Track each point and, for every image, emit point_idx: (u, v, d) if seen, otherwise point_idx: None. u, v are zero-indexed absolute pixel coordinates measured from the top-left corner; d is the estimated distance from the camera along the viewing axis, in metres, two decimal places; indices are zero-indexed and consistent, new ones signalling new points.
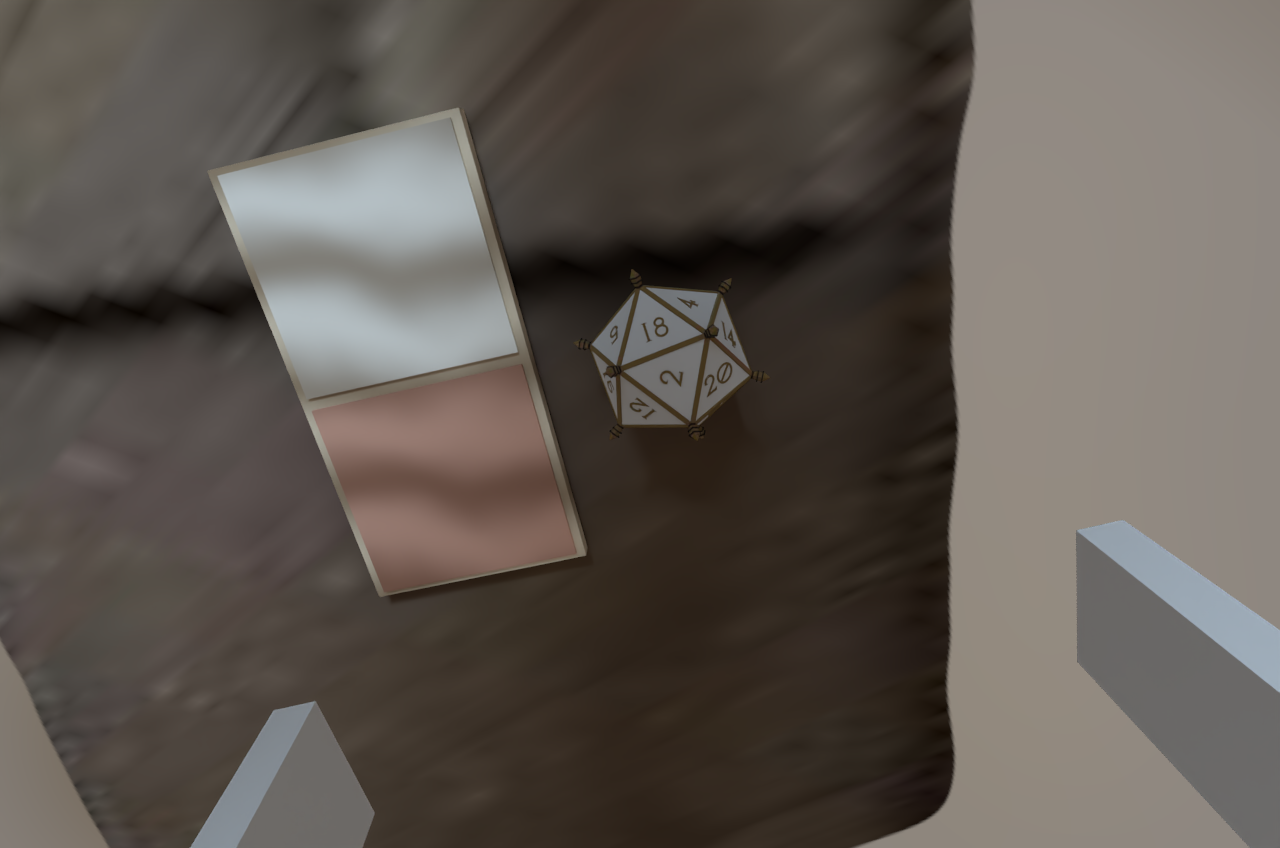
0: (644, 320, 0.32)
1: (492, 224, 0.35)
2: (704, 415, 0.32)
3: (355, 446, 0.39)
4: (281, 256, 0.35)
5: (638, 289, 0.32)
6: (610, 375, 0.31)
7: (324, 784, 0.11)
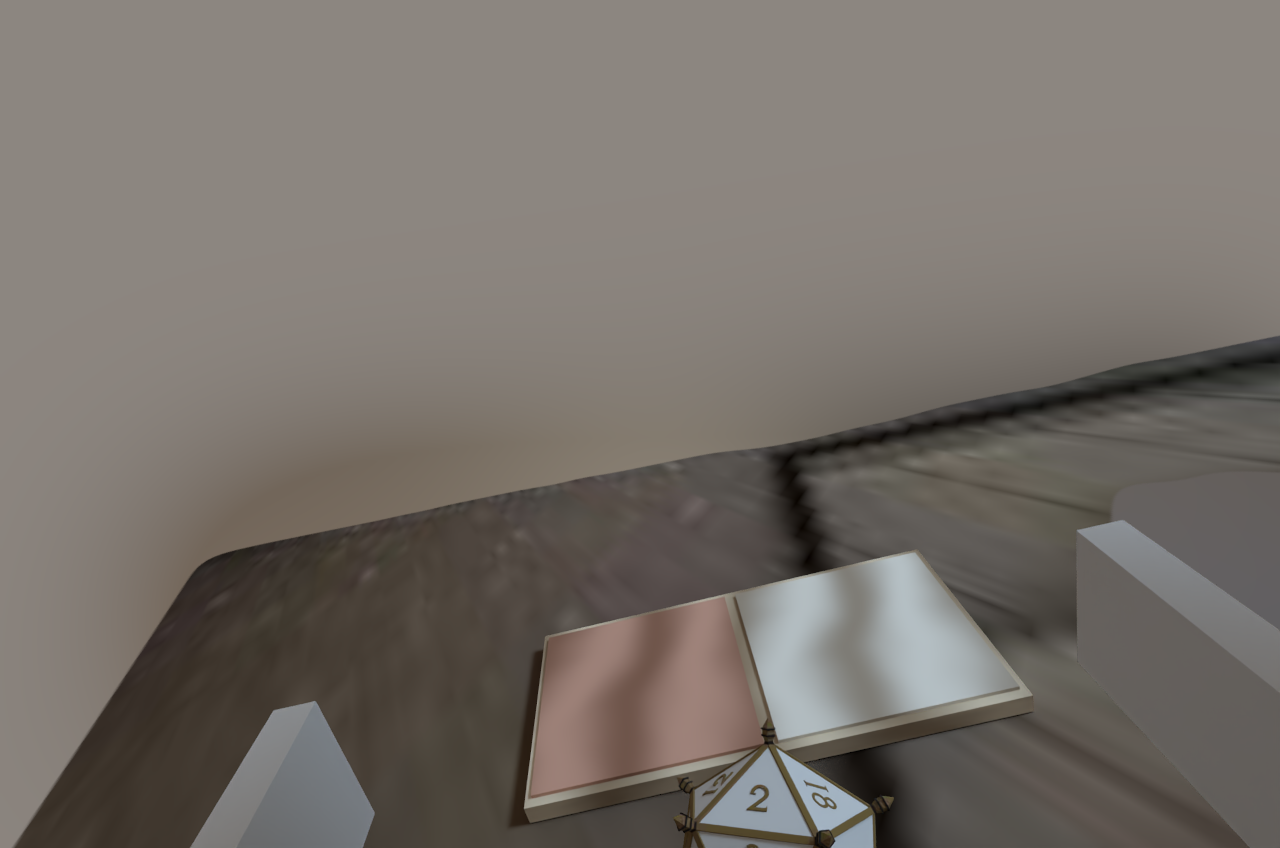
0: (830, 792, 0.25)
1: (917, 723, 0.33)
2: None
3: (690, 620, 0.43)
4: (856, 582, 0.43)
5: (868, 805, 0.25)
6: (764, 725, 0.26)
7: (324, 784, 0.11)
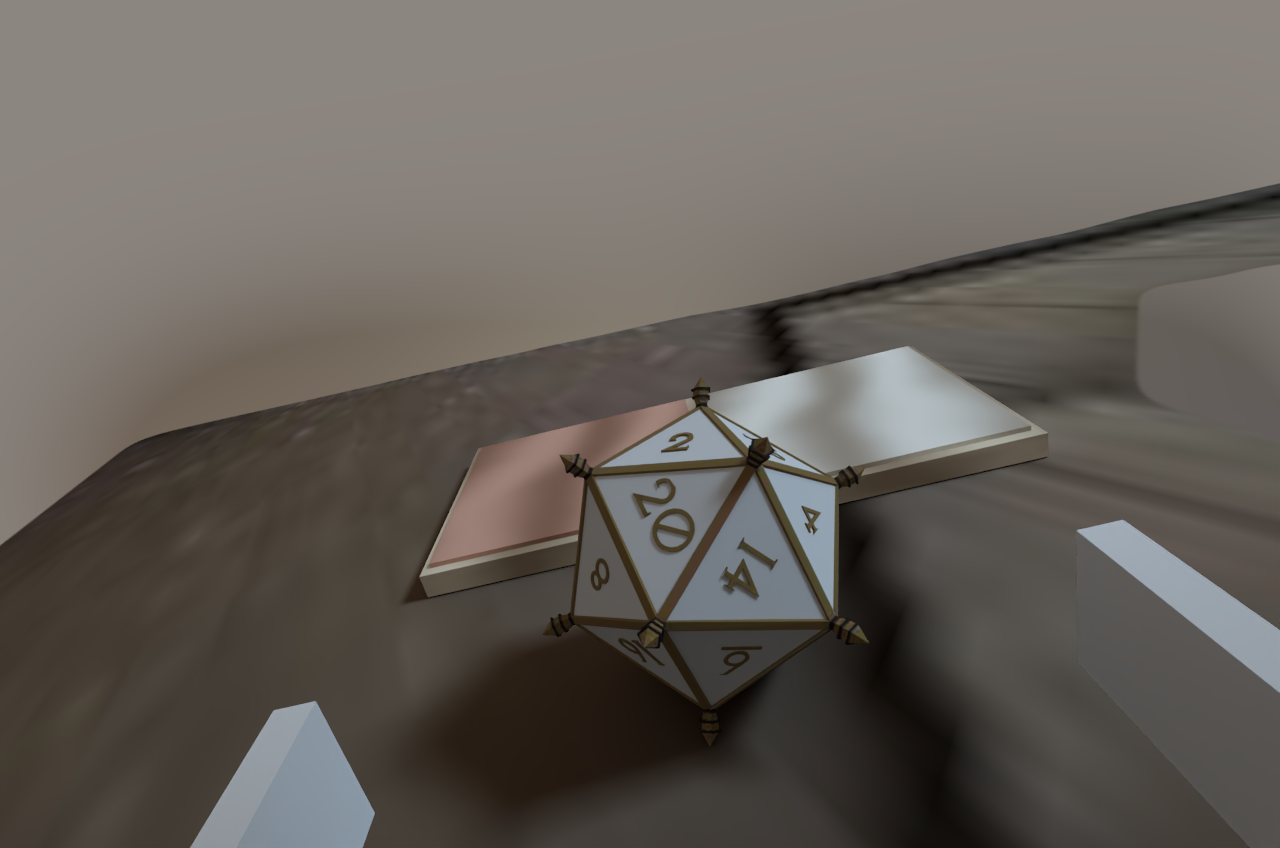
0: (779, 453, 0.19)
1: (903, 469, 0.27)
2: (599, 496, 0.17)
3: (643, 419, 0.37)
4: (838, 373, 0.37)
5: (830, 476, 0.19)
6: (695, 386, 0.20)
7: (324, 784, 0.11)
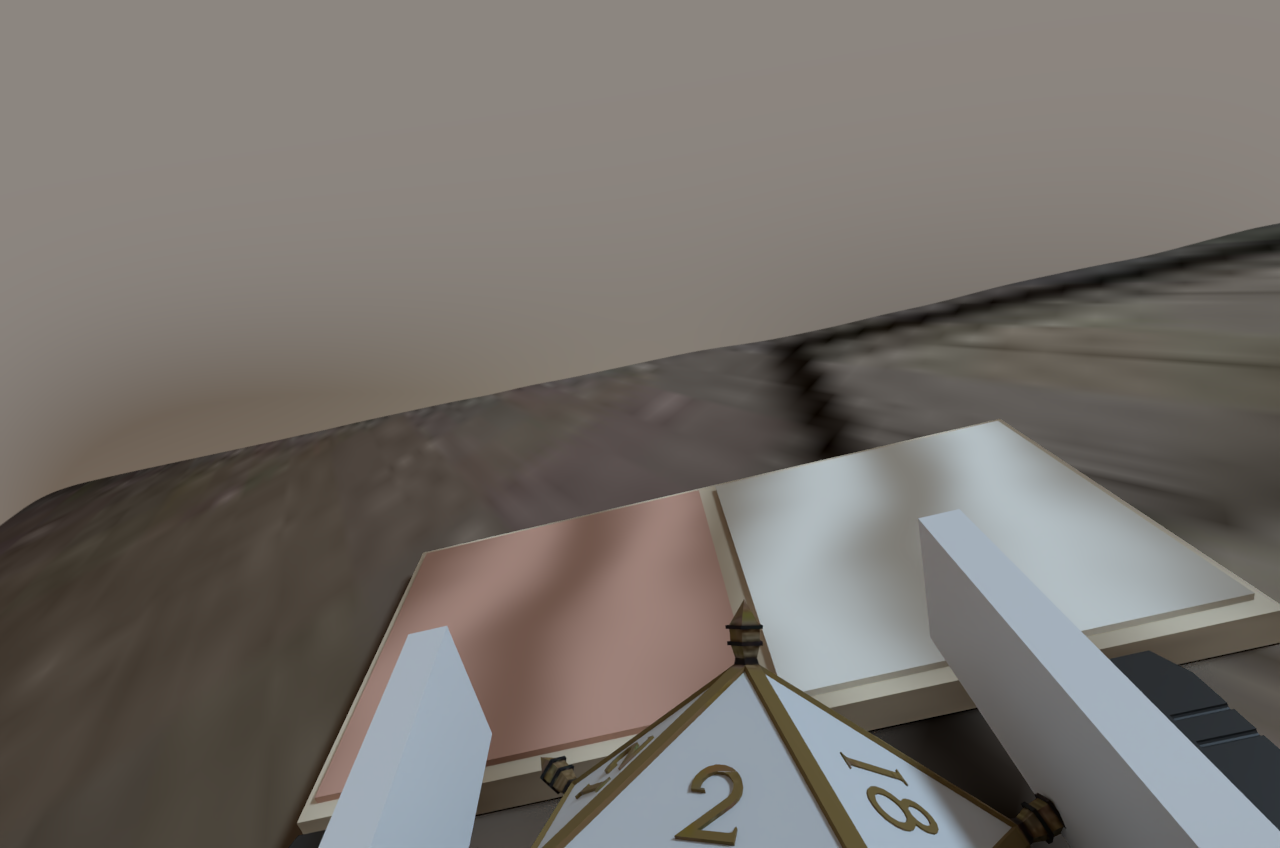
0: (912, 785, 0.09)
1: None
2: None
3: (642, 522, 0.27)
4: (908, 461, 0.27)
5: (1011, 821, 0.10)
6: (734, 619, 0.10)
7: (458, 699, 0.13)
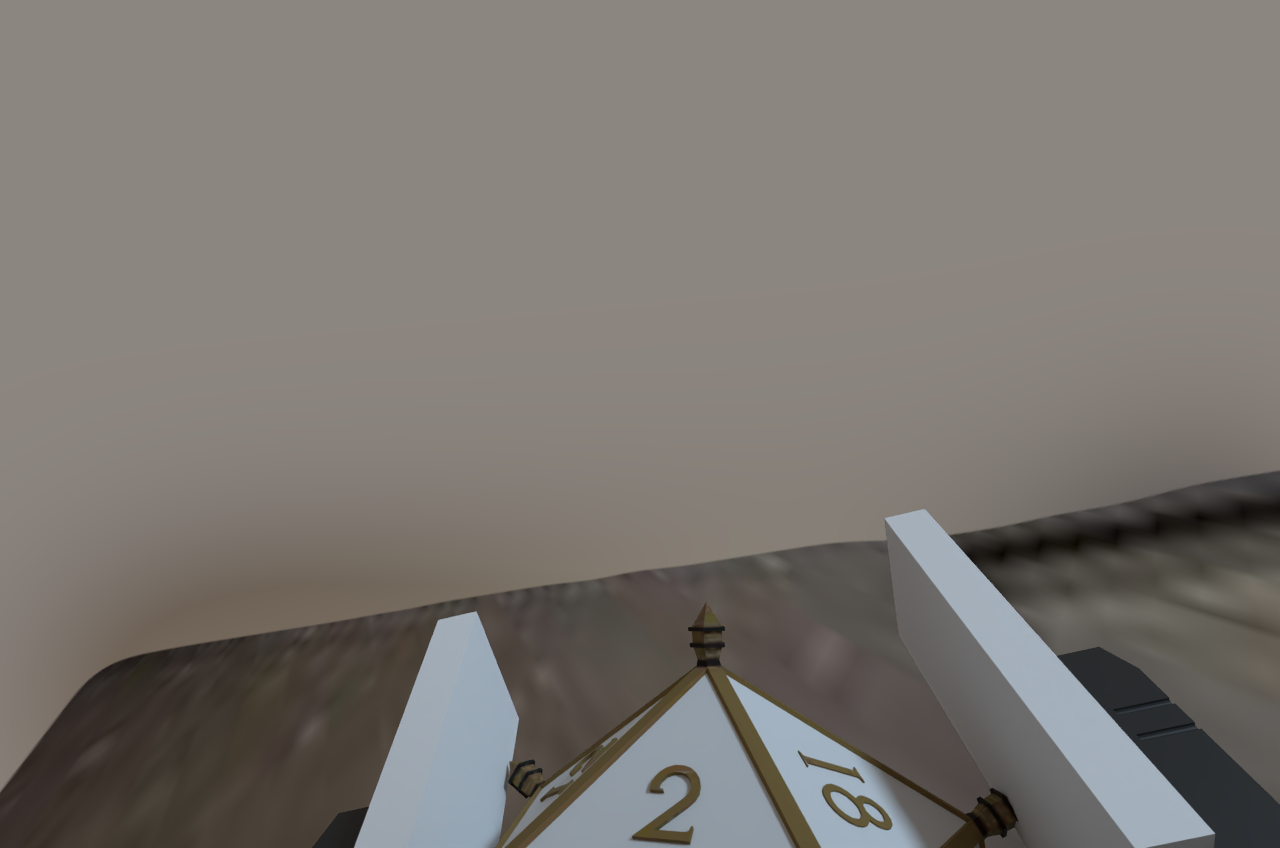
0: (869, 782, 0.09)
1: None
2: None
3: None
4: None
5: (966, 815, 0.10)
6: (697, 621, 0.11)
7: (488, 684, 0.13)
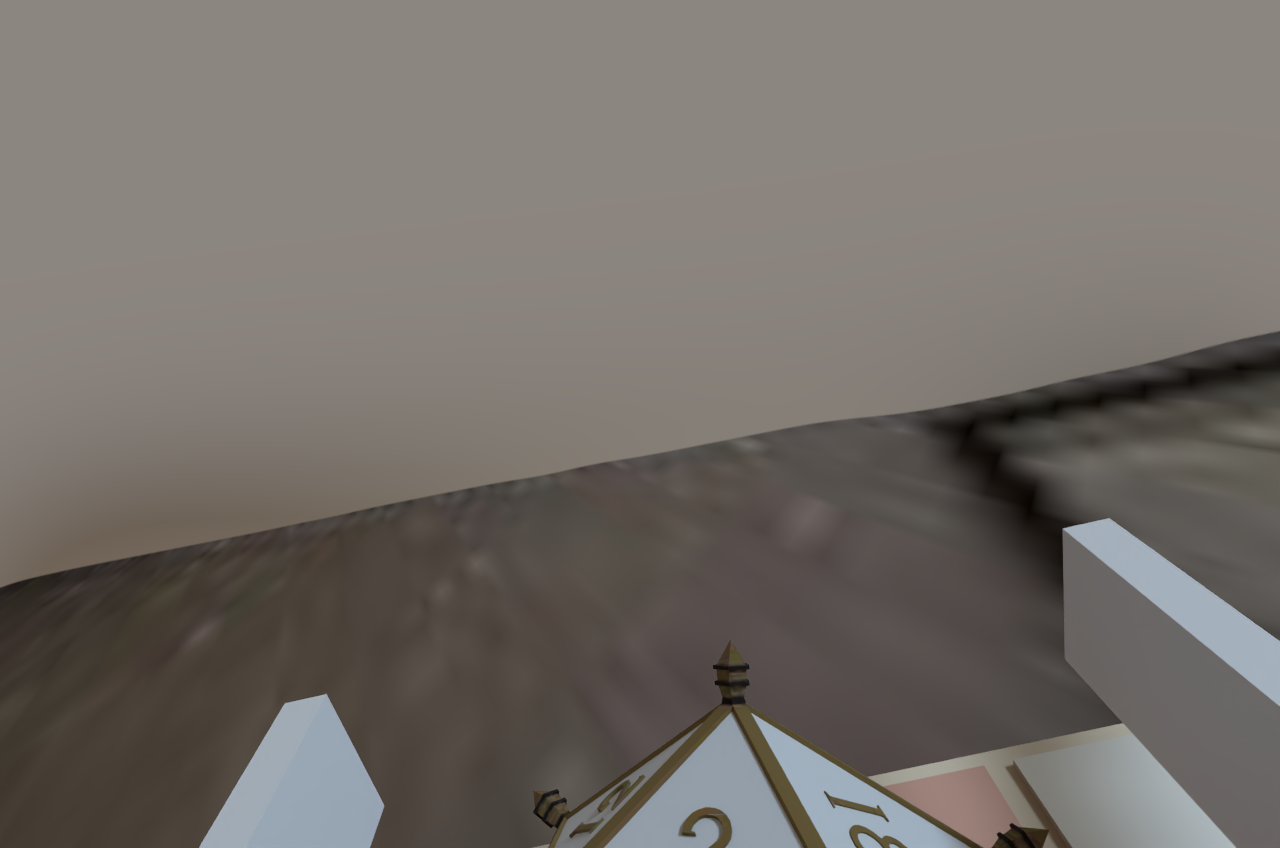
0: (893, 821, 0.10)
1: None
2: None
3: None
4: None
5: None
6: (721, 660, 0.11)
7: (335, 776, 0.11)
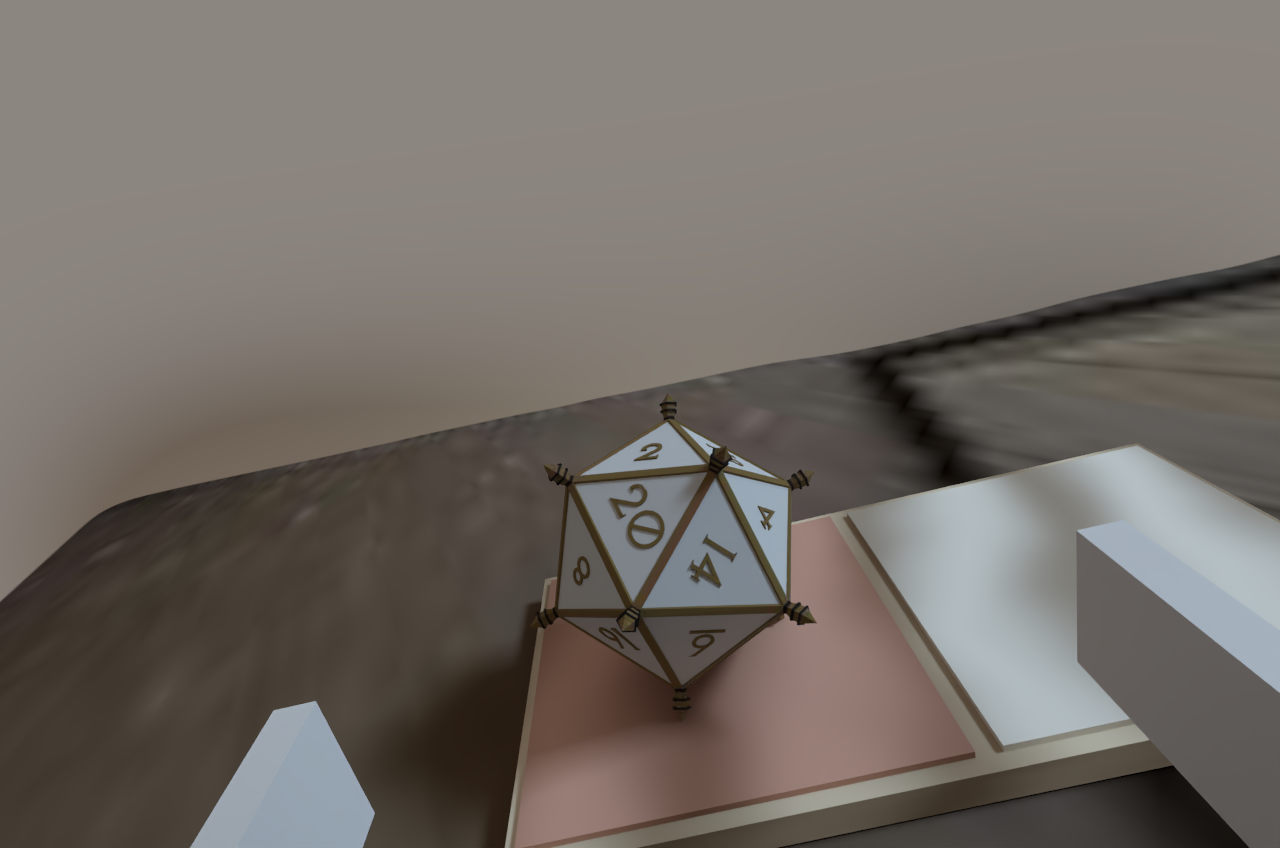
0: (738, 459, 0.21)
1: None
2: (580, 501, 0.19)
3: None
4: (1052, 488, 0.26)
5: None
6: (663, 401, 0.22)
7: (324, 784, 0.11)
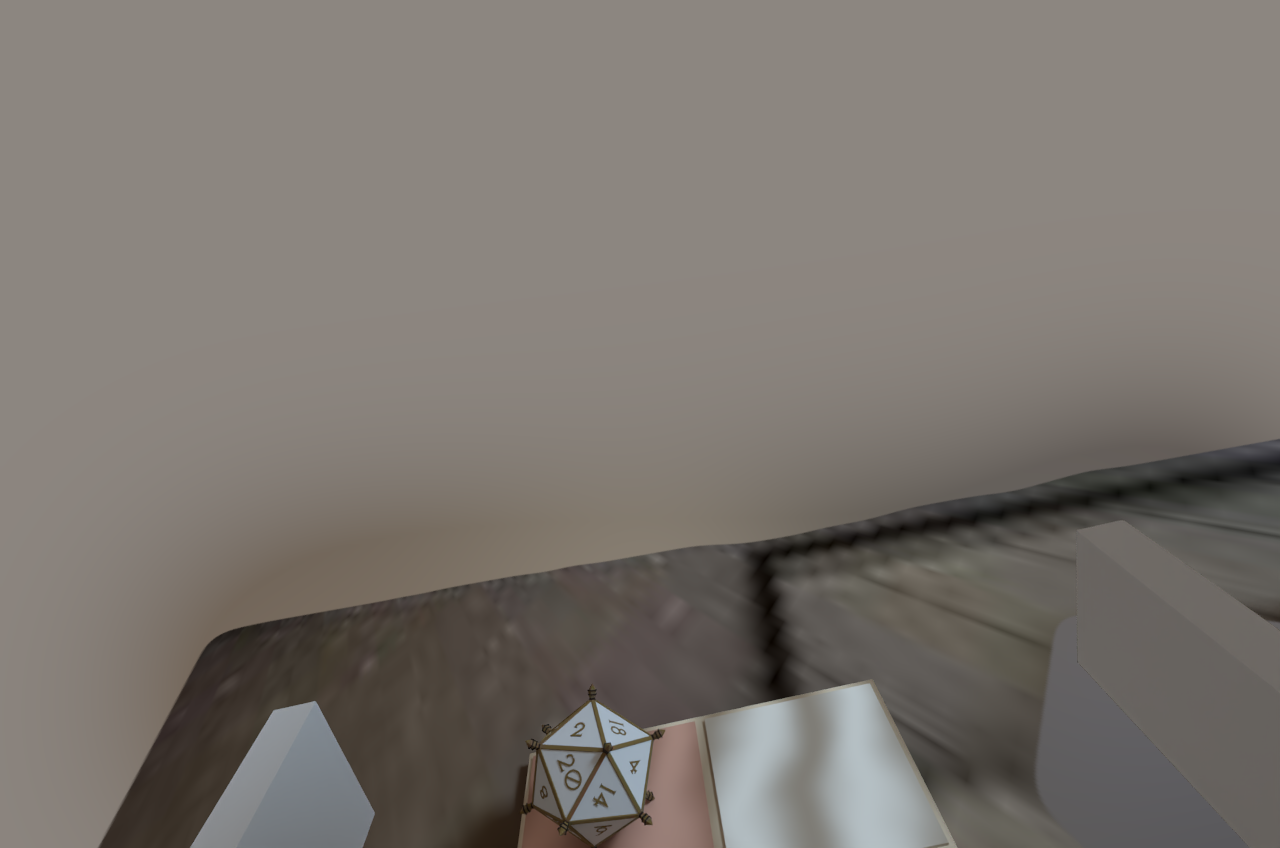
0: (625, 726, 0.42)
1: None
2: (543, 759, 0.40)
3: (662, 746, 0.47)
4: (814, 713, 0.47)
5: (650, 734, 0.42)
6: (589, 688, 0.43)
7: (324, 784, 0.11)
